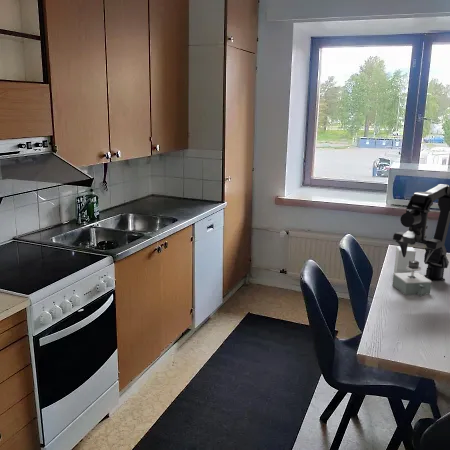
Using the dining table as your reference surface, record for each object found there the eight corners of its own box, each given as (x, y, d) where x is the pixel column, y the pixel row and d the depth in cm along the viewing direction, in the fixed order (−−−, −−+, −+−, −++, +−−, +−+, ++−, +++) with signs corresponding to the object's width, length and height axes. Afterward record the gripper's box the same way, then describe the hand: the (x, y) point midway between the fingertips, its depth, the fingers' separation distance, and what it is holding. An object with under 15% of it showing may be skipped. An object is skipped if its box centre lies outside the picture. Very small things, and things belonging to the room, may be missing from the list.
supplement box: (413, 278, 213) (416, 251, 210) (395, 276, 215) (398, 250, 212) (410, 272, 220) (413, 246, 217) (393, 271, 222) (396, 245, 219)
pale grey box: (415, 284, 206) (417, 272, 205) (434, 296, 193) (435, 283, 191) (392, 285, 204) (393, 273, 203) (409, 297, 191) (410, 285, 190)
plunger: (415, 276, 203) (418, 258, 202) (426, 283, 195) (428, 264, 193) (397, 277, 202) (399, 258, 200) (407, 284, 194) (409, 265, 192)
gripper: (387, 222, 195) (383, 257, 198) (431, 231, 181) (426, 269, 185) (401, 218, 202) (397, 253, 206) (444, 227, 188) (439, 264, 192)
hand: (414, 259), depth 197 cm, fingers open, 9 cm apart
